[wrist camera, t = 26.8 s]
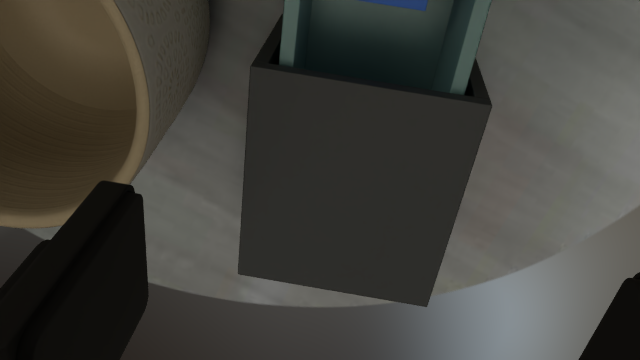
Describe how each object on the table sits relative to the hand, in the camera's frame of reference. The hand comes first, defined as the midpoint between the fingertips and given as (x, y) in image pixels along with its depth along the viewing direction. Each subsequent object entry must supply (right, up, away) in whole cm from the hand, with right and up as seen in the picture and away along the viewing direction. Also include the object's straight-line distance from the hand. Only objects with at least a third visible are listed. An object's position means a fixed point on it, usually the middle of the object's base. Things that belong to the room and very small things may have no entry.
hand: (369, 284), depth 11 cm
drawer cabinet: (+2, +6, +30) cm, 30 cm away
